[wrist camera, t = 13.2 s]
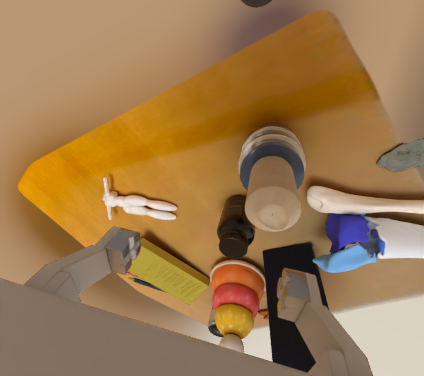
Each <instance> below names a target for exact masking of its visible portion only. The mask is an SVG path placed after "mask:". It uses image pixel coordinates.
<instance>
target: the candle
mask: <svg viewBox="0 0 424 376" xmlns="http://www.w3.org/2000/svg"><path fill="white" fill-rule="evenodd" d="M245 213H246V216H247V218H248V219H249V221H250V222H251V223H252V224H253V225H254V226H256V227H258V228H260V229H262V230H266V231H282V230H285V229H288V228H290V227H291V226H293V225H294V224H295V223H296V222H297V221H298V219H299V217H300V215H301V203H300V199H299V195H298V191H297V186H296V182H295V178H294V174H293V170H292V167H291V166H290V164H289V163H288V162H287V161H286V160H285V159H283V158H281V157H278V156H267V157H263V158H261V159H260V160H258V161H257V162H256V163H255V164H254V166H253V167H252V170H251V173H250V179H249V185H248V191H247V197H246V203H245Z"/></svg>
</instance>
